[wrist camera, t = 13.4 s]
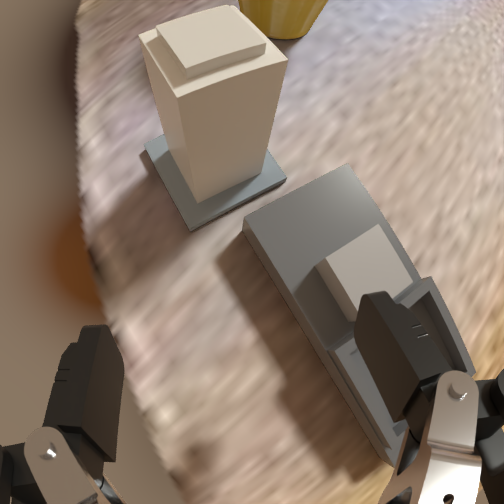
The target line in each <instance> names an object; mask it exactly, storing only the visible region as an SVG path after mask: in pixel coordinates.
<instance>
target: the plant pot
mask: <svg viewBox="0 0 504 504" xmlns="http://www.w3.org/2000/svg"><path fill="white" fill-rule="evenodd" d="M238 1H239V6H240V11H241V13H242V14H244V15H245V16H246V17H247V18H248V19H249V20H250V21H251V22H252V23H253V24H254V25H255V26H256V27H257V28H258V29H259V30H260V31H261V32H262V33H263V34H264V35H265V36H266V37H269V38H274V39H294V38H299V37H301V36H304V35H305V34H306V33H307V32H308V31H309V30H310V28H311V27H312V25H313V23H314V22H315V20H316V19H317V17H318V15H319V14H320V12H321V11H322V9H323V8H324V6H325V5H326V3H327V2H328V0H238Z"/></svg>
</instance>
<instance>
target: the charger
mask: <svg viewBox="0 0 504 504" xmlns="http://www.w3.org/2000/svg"><path fill="white" fill-rule="evenodd" d="M138 36H139V40H140V44H141V48H142V52H143V56H144V60H145V64H146V68H147V72H148V76H149V80H150V84H151V88H152V91H153V95H154V99H155V103H156V106H157V110H158V114H159V117H160V121H161V124H162V128H163V131H164V135H165V138H166V142H167V145H168V149H169V151H170V153H171V155H172V157H173V159H174V160H175V162H176V164H177V166H178V168H179V170H180V172H181V174H182V175H183V177H184V179H185V181H186V183H187V185H188V187H189V188H190V190H191V192H192V194H193V196H194V198H195V200H196V201H197V203H200V202H202V201H204V200H206V199H208V198H210V197H212V196H214V195H216V194H218V193H220V192H222V191H224V190H226V189H229V188H231V187H233V186H235V185H237V184H239V183H241V182H243V181H245V180H247V179H249V178H252V177H254V176H256V175H258V174H260V173H261V172H262V168H263V164H264V159H265V155H266V151H267V147H268V142H269V138H270V134H271V130H272V125H273V121H274V117H275V113H276V109H277V104H278V100H279V96H280V92H281V88H282V83H283V79H284V75H285V71H286V67H287V63H288V59H287V58H286V57H285V56H284V54H283V53H282V52H281V51H280V50H279V49H278V48H277V47H276V46H275V45H274V44H273V43H272V42H271V41H270V40H269V39H268V38H267V37H266V36H265V35H264V34H263V33H262V32H261V31H260V30H259V29H258V28H257V27H256V26H255V25H254V24H253V23H252V22H251V21H250V20H249V19H248V18H247V17H246V16H245V15H244V14H242V13H241V12H240V11H239V10H238V9H237V8H236V7H235V6H234V5H232V6H229V5H223V6H219V7H215V8H211V9H208V10H204V11H200V12H197V13H193V14H190V15H187V16H184V17H180V18H177V19H174V20H171V21H168V22H165V23H163V24H160V25H157V26H156V28H155V29H153V30H150V31H147V32H145V33H142V34H140V35H138Z"/></svg>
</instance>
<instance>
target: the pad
mask: <svg viewBox="0 0 504 504" xmlns="http://www.w3.org/2000/svg"><path fill="white" fill-rule="evenodd" d="M144 146H145V149H146V151H147V153H148V154H149V156H150V158H151V160H152V162H153V164H154V166H155V168H156V170H157V172H158V173H159V175H160V177H161V179H162V181H163V183H164V185H165V186H166V188H167V190H168V192H169V194H170V196H171V198H172V199H173V201H174V203H175V205H176V207H177V209H178V210H179V212H180V214H181V216H182V218H183V219H184V221H185V223H186V225H187V227H188V228H189V230H190V232H191V231H193V230H195V229H196V228H198V227H200V226H202V225H204V224H206V223H207V222H209V221H211V220H213V219H215V218H217V217H218V216H220V215H222V214H224V213H226V212H228V211H230V210H232V209H233V208H235V207H237V206H239V205H241V204H243V203H245V202H247V201H249V200H250V199H252V198H254V197H256V196H258V195H260V194H262V193H264V192H266V191H268V190H270V189H272V188H274V187H276V186H278V185H279V184H281V183H283V182H285V181H286V179H287V177H286V175H285V174H284V172H283V171H282V169H281V168H280V166H279V165H278V164H277V162H276V161H275V159H274V158H273V157H272V155H271V154H270V152H269V151H268V149H267V151H266V155H265V159H264V164H263V168H262V172H261V173H260V174H258V175H256V176H254V177H252V178H249V179H247V180H245V181H243V182H241V183H239V184H237V185H235V186H233V187H231V188H229V189H226V190H224V191H222V192H220V193H218V194H216V195H214V196H212V197H210V198H208V199H206V200H204V201H202V202H200V203H197V201H196V200H195V198H194V196H193V194H192V192H191V190H190V188H189V187H188V185H187V183H186V181H185V179H184V177H183V175H182V174H181V172H180V170H179V168H178V166H177V164H176V162H175V160H174V159H173V157H172V155H171V153H170V151H169V149H168V145H167V142H166V138H165V135H164V134H163V135H161V136H159V137H157V138H155V139H153V140H151V141H149V142H147V143H145V144H144Z"/></svg>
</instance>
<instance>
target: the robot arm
mask: <svg viewBox="0 0 504 504" xmlns="http://www.w3.org/2000/svg"><path fill="white" fill-rule="evenodd" d="M354 339H355V343H356V345H357V348H358V350H359V352H360V354H361V356H362V358H363V360H364V362H365V364H366V366H367V368H368V370H369V372H370V374H371V376H372V378H373V380H374V382H375V384H376V386H377V389H378V391H379V393H380V395H381V397H382V399H383V401H384V403H385V405H386V408H387V410H388V412H389V414H390V416H391V418H392V421H393V423H396V422H399V421H402V420H404V419H406V421H407V424H408V426H407V428H406V431H405V435H404V438H403V442H402V445H401V449H400V452H399V455H398V459H397V462H396V465H395V468H394V471H393V474H392V477H391V479H390V481H389V483H388V485H387V486H386V488H385V489H384V491H383V493H382V495H381V497H380V499H379V502H378V504H475V499H476V495H477V490H478V484H479V479H480V481H481V483H482V486H483V489H484V491H485V494H486V497H487V499H488V502H489V504H504V432H503V430H502V428H501V427H502V426H503V425H504V369H503V370H502V371H501V372H500V374H499V375H498V376H497V378H496V379H490V380H478V381H474V380H473V378H472V377H470V376H469V375H468V374H466V373H464V372H461V371H453V370H452V368H451V367H450V366H449V364H448V363H447V361H446V359H445V358H444V356H443V355H442V353H441V352H440V350H439V349H438V347H437V346H436V345H435V343H434V342H433V340H432V339H431V337H430V336H429V335H427V331H426V330H425V329H424V327H423V326H421V323H420V321H419V320H418V319H417V317H416V316H415V314H414V313H413V312H412V311H411V310H409V309H408V308H406V307H405V306H404V305H402V304H401V303H399V304H396V303H395V302H394V301H393V299H392V298H391V296H390V295H389V294H388V292H386V291H379V292H373V293H368V294H363V295H362V297H361V300H360V304H359V309H358V313H357V317H356V322H355V326H354ZM123 380H124V363H123V358H122V356H121V353H120V351H119V349H118V347H117V345H116V343H115V340H114V338H113V336H112V334H111V331H110V329H109V327H108V326H107V325H89V326H84V327H83V328H82V330H81V332H80V336H79V339H78V342H77V343H71V344H70V345H69V346H68V348H67V349H66V350H65V352H64V353H63V354H62V356H61V360H60V363H59V366H58V372H57V373H56V376H55V383H54V384H53V387H52V391H51V395H50V398H49V402H48V406H47V410H46V415H45V419H44V423H43V426H42V427H41V428H38V429H36V430H34V431H33V432H32V433H31V434H30V435H29V436H28V438H27V440H26V442H24V443H20V444H15V445H10V446H5V447H2V446H1V445H0V504H10V496H11V497H12V502H11V504H127V503H126V502H125V501H124V499H123V498H122V497H121V496H120V495H119V493H118V492H117V490H116V489H115V488H114V486H113V485H112V483H111V482H110V481H109V479H108V478H107V476H106V475H105V474H104V472H103V465H104V462H115V461H116V448H117V435H118V424H119V414H120V405H121V396H122V388H123Z"/></svg>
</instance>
